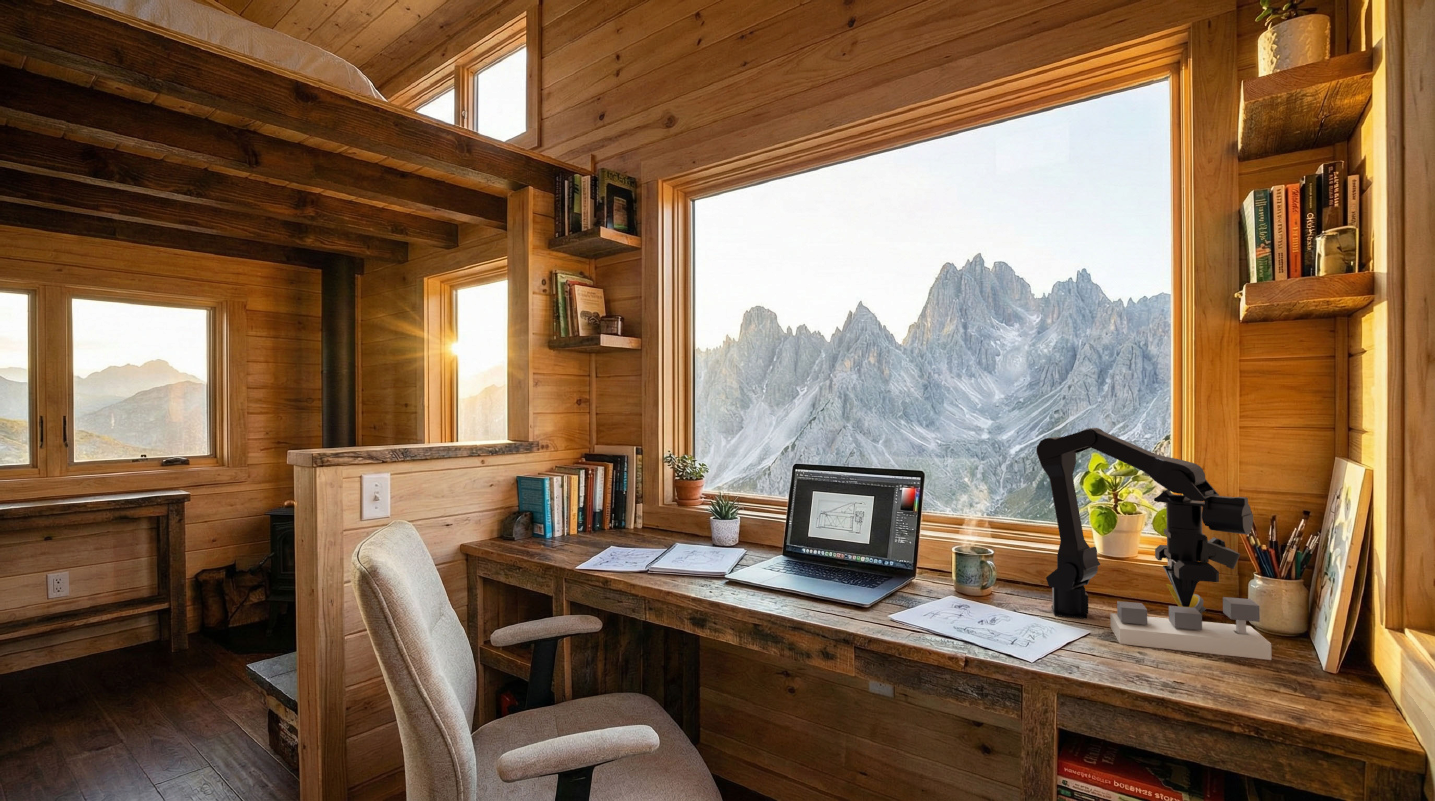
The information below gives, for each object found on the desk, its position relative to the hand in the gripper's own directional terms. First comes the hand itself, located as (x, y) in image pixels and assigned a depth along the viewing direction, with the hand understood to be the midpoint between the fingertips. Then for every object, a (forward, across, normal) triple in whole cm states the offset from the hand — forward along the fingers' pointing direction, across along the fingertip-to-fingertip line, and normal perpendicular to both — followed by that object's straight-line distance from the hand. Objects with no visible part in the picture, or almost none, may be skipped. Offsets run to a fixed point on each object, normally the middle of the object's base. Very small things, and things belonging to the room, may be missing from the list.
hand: (1185, 606), depth 130 cm
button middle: (+7, 0, 0) cm, 7 cm away
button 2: (+5, 0, -9) cm, 10 cm away
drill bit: (+7, +19, -5) cm, 21 cm away
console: (+7, 0, 0) cm, 7 cm away
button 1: (+7, 0, +9) cm, 12 cm away
